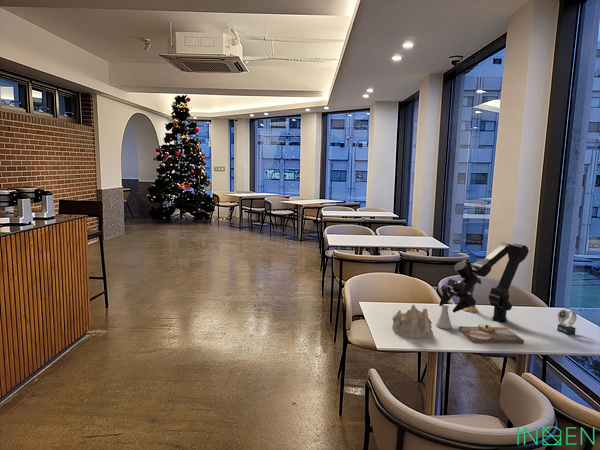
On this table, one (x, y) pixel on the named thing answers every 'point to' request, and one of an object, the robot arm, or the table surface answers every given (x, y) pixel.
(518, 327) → the table surface
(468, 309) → the hand bell
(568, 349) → the table surface
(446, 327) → the flask
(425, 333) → the ceramic cottage
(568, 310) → the watch
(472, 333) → the gear board
